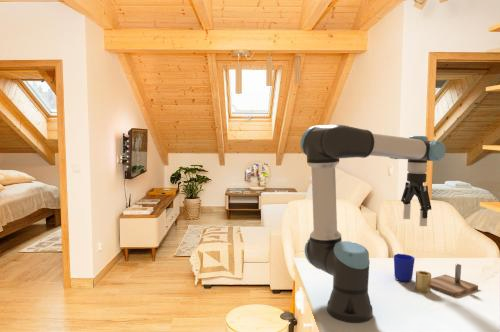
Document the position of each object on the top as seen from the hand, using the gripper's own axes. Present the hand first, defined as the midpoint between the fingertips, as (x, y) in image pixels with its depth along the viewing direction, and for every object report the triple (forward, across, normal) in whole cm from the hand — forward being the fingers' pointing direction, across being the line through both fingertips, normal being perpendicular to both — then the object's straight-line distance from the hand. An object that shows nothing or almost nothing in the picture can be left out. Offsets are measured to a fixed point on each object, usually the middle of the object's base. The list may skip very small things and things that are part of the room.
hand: (414, 222), depth 162 cm
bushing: (+25, -12, +2) cm, 28 cm away
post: (+23, -10, -14) cm, 29 cm away
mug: (+25, +2, +4) cm, 25 cm away
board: (+25, -9, -11) cm, 29 cm away
